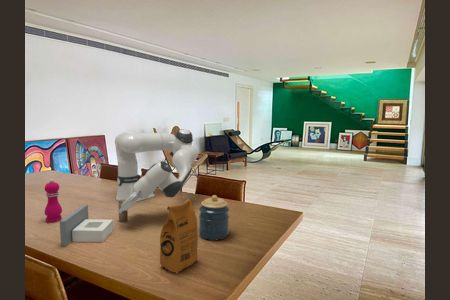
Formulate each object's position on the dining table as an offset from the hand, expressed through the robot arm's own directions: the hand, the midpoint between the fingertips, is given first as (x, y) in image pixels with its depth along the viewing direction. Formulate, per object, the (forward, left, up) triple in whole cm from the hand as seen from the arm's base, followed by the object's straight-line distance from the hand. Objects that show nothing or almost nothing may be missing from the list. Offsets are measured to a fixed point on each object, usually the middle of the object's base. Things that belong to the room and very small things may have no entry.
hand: (122, 208), depth 138 cm
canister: (-24, +39, -6) cm, 46 cm away
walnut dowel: (0, 0, -6) cm, 6 cm away
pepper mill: (+25, -21, -6) cm, 33 cm away
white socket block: (+16, +8, -6) cm, 19 cm away
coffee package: (+1, +50, -6) cm, 50 cm away
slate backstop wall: (+22, +3, -6) cm, 23 cm away
